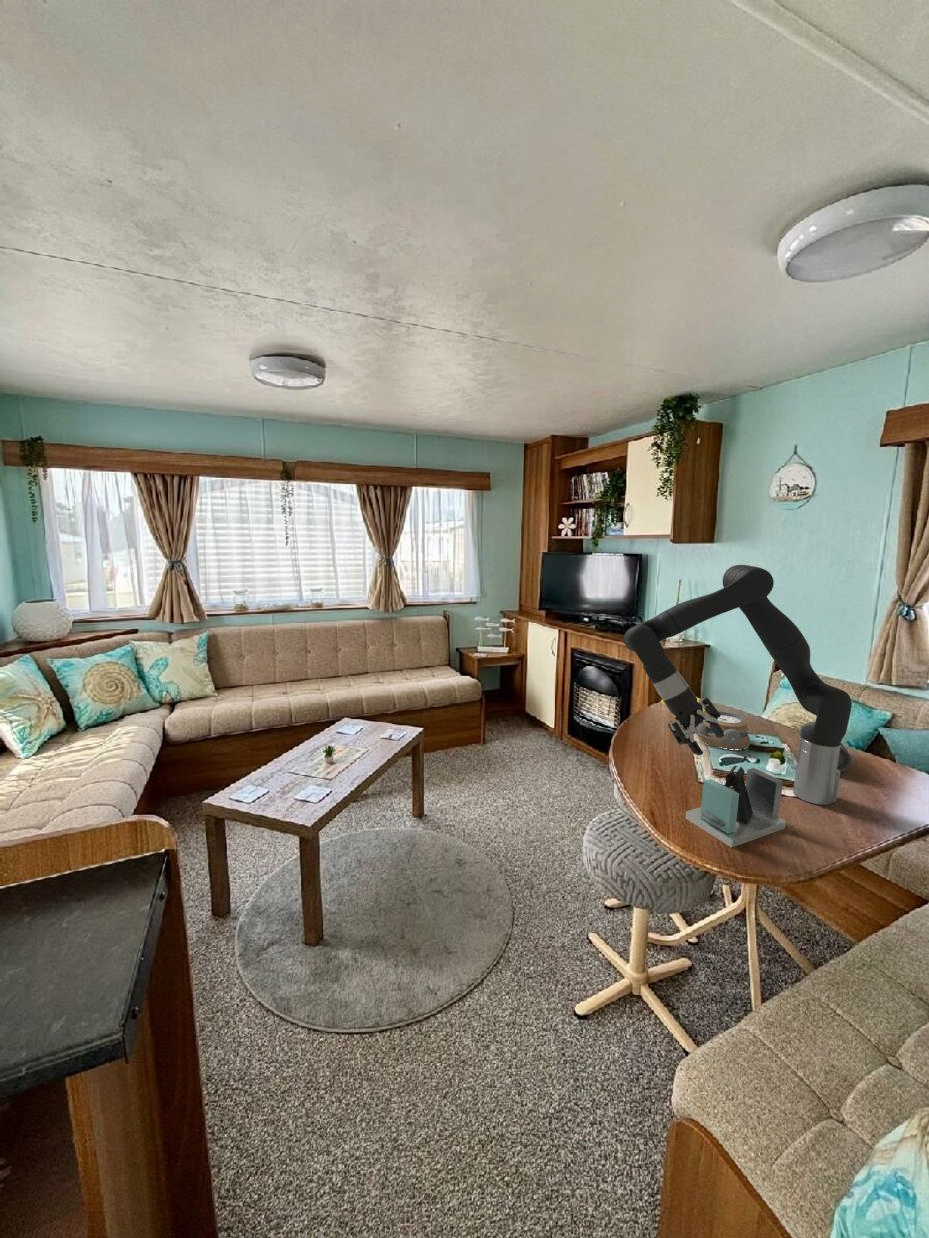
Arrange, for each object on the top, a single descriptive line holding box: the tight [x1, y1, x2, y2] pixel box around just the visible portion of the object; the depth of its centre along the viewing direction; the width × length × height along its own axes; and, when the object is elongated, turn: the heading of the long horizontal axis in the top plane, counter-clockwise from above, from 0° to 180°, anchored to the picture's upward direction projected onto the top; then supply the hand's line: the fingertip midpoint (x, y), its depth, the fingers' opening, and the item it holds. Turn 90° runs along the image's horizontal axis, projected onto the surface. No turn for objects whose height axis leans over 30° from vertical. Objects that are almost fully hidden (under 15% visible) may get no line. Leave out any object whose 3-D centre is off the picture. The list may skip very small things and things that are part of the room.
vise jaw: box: [700, 778, 739, 834], centre depth 122 cm, size 8×4×10 cm, turn 25°
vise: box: [685, 767, 787, 849], centre depth 127 cm, size 14×20×12 cm
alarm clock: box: [695, 710, 751, 749], centre depth 178 cm, size 17×9×23 cm
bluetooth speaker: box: [799, 721, 852, 772], centre depth 164 cm, size 23×9×10 cm, turn 160°
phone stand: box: [723, 765, 753, 824], centre depth 128 cm, size 9×6×12 cm, turn 48°
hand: (710, 745), depth 127 cm, fingers open, 8 cm apart
